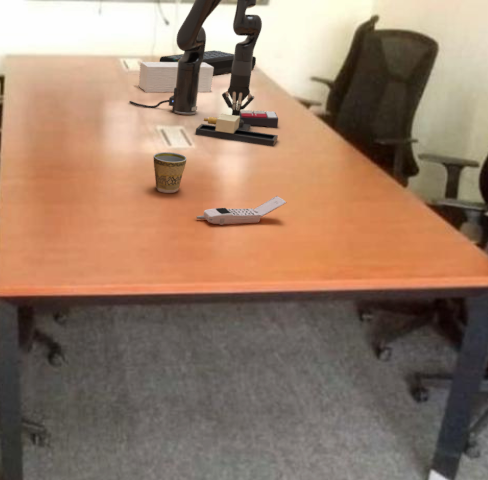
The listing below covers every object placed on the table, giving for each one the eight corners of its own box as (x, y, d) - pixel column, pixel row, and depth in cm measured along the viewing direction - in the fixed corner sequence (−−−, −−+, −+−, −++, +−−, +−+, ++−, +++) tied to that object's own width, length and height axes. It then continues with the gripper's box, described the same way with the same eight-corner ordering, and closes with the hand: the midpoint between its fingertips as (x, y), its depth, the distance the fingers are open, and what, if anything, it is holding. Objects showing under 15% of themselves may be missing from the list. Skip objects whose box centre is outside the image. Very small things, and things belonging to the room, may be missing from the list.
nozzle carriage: (199, 132, 289) (201, 116, 286) (205, 126, 297) (207, 111, 294) (232, 137, 286) (234, 121, 283) (237, 131, 294) (240, 116, 290)
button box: (215, 129, 300) (216, 120, 298) (221, 123, 307) (222, 115, 305) (245, 133, 297) (247, 125, 295) (250, 128, 304) (251, 120, 302)
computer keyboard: (214, 60, 424) (216, 47, 420) (254, 69, 408) (256, 56, 404) (159, 67, 396) (160, 53, 393) (199, 78, 380) (200, 63, 377)
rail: (195, 134, 291) (196, 128, 290) (200, 129, 298) (201, 123, 296) (273, 146, 284) (274, 140, 282) (276, 141, 290) (277, 135, 289)
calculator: (238, 109, 314) (275, 110, 313) (238, 120, 316) (274, 120, 316) (241, 115, 305) (278, 116, 304) (240, 126, 307) (277, 127, 307)
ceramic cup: (173, 197, 230) (176, 164, 224) (144, 189, 234) (147, 157, 228) (193, 186, 239) (197, 154, 233) (165, 179, 243) (168, 148, 238)
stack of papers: (202, 86, 364) (205, 62, 358) (210, 91, 355) (213, 67, 349) (138, 86, 355) (140, 61, 349) (145, 92, 347) (147, 66, 341)
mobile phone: (288, 202, 214) (205, 205, 208) (284, 222, 218) (203, 226, 211) (278, 195, 219) (197, 198, 212) (275, 215, 222) (195, 218, 216)
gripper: (260, 73, 292) (253, 120, 301) (226, 69, 295) (220, 115, 305) (256, 76, 286) (249, 124, 296) (222, 72, 289) (216, 119, 299)
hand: (235, 119), depth 300 cm, fingers closed
